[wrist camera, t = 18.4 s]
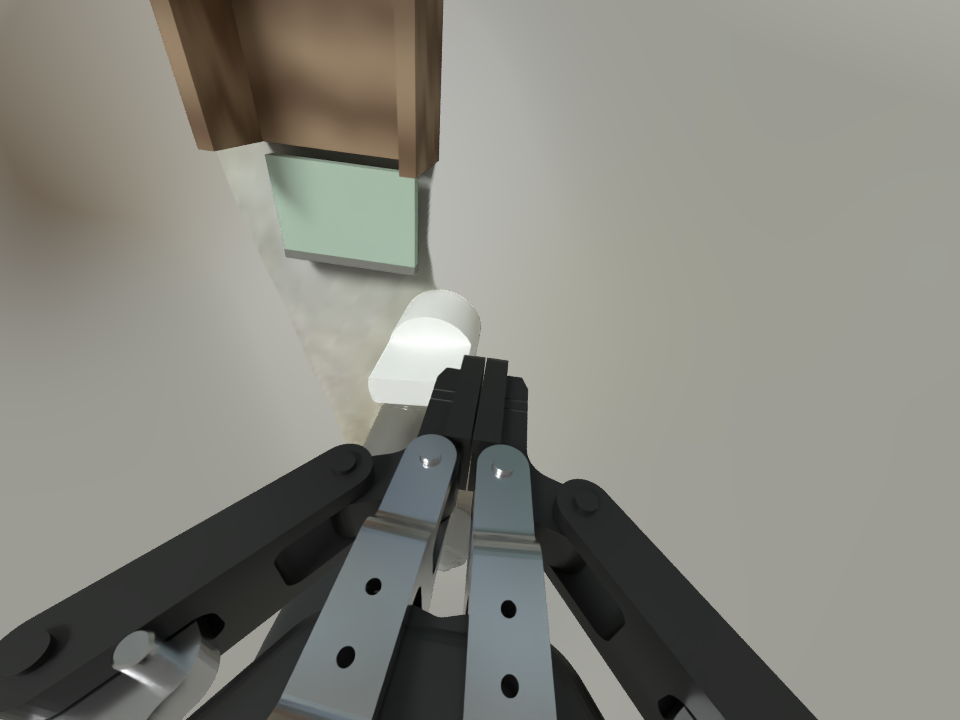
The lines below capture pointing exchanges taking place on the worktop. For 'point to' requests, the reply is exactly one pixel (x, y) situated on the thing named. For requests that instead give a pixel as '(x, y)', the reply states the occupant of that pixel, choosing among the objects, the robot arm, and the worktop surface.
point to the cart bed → (310, 74)
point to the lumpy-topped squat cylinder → (456, 541)
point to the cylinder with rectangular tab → (425, 347)
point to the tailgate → (346, 213)
